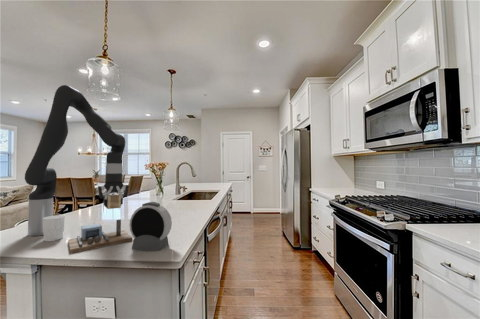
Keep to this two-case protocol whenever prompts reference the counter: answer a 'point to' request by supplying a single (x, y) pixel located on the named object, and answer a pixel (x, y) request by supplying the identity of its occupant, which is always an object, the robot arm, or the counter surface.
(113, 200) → the collar
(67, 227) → the counter surface
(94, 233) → the block
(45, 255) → the counter surface
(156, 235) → the alarm clock
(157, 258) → the counter surface
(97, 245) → the jig board
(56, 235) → the white cup
